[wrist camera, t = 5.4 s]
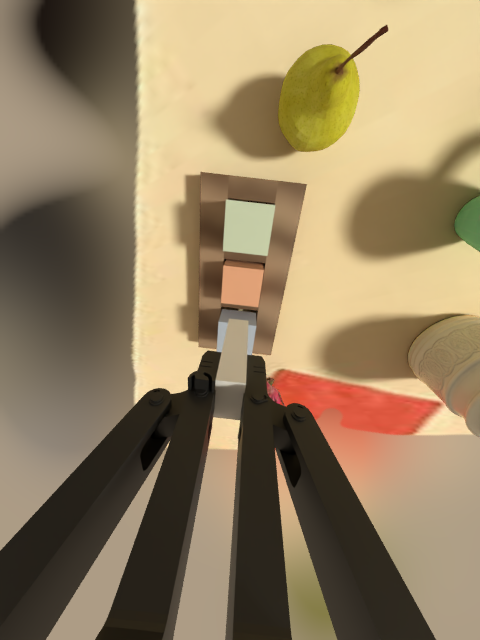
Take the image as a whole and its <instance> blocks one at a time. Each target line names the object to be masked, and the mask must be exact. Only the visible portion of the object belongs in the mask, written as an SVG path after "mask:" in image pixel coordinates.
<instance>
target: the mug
mask: <svg viewBox="0 0 480 640" xmlns="http://www.w3.org/2000/svg"><path fill="white" fill-rule="evenodd" d="M454 227H455V231H456V233H457V235H458V236H460V237H461V238H462V239H463V240H464V241H465V242H466V243H467V244H469V245H470V246H472V247H473V248H475V249H476V250H478V251H479V252H480V196H478V197H476V198H474V199H472V200H470V201H469V202H468V203H467V204H465V205H464V206H463V208H462V209H461V210H460V211H459V213H458V215H457V217H456V219H455V223H454Z"/></svg>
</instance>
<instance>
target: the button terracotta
mask: <svg viewBox="0 0 480 640" xmlns="http://www.w3.org/2000/svg"><path fill="white" fill-rule="evenodd" d="M263 273H264V268H263V263H259V262H250V261H241V260H233V259H227V260H226V261H225V263H224V265H223V279H222V295H221V303H225V304H234V305H243V306H251V307H258V306H259V299H260V293H261V286H262V280H263Z"/></svg>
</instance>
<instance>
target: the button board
mask: <svg viewBox="0 0 480 640" xmlns="http://www.w3.org/2000/svg"><path fill="white" fill-rule="evenodd" d="M306 185H307V184H300V183H291V182H283V181H274V180H265V179H257V178H248V177H239V176H231V175H222V174H213V173H205V172H201V192H200V276H199V347H203V348H211V349H217V338H218V322H219V318H220V315H221V312H222V307H231V308H239V309H248V310H257V314H256V332H255V338H254V344H253V350H252V353H255V354H264V355H271V352H272V347H273V342H274V337H275V333H276V328H277V323H278V318H279V314H280V309H281V304H282V299H283V295H284V290H285V285H286V280H287V276H288V271H289V266H290V261H291V257H292V252H293V247H294V242H295V238H296V233H297V228H298V223H299V219H300V214H301V209H302V204H303V200H304V195H305V190H306ZM229 199H237V200H246V201H255V202H263V203H272V204H273V205H275V212H274V218H273V224H272V230H271V237H270V243H269V249H268V256H263V255H254V254H245V253H237V252H228V251H223V240H224V224H225V208H226V200H229ZM225 259H233V260H242V261H251V262H260V263H264V273H263V280H262V286H261V293H260V299H259V306H258V307H251V306H243V305H234V304H225V303H221V295H222V279H223V265H224V263H225Z"/></svg>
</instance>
